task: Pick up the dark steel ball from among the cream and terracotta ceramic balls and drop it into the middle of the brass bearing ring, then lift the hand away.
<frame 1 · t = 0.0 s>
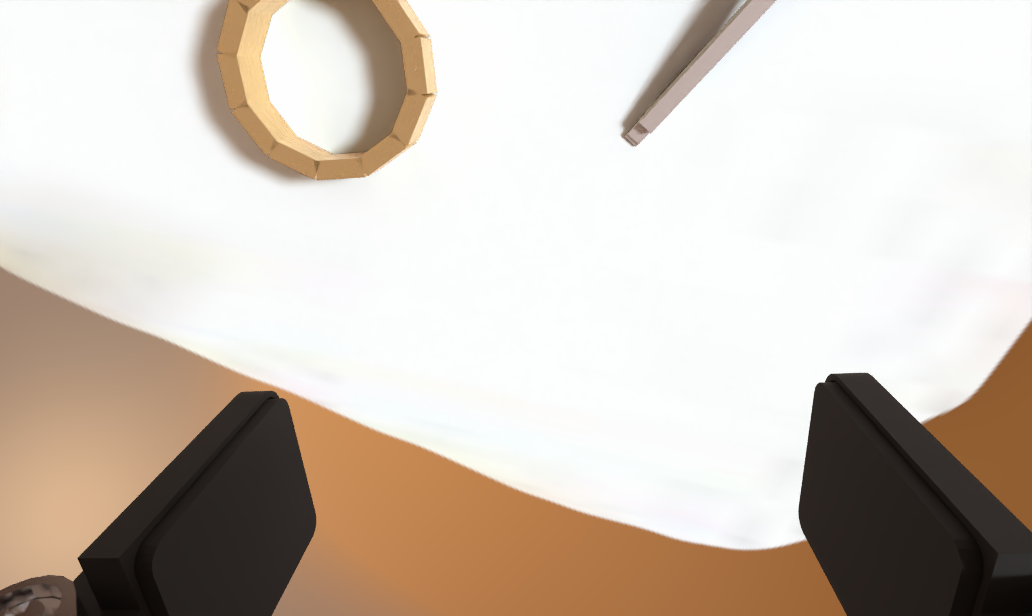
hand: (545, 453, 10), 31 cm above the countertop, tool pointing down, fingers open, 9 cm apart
caliper: (746, 5, 35), on the countertop
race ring: (339, 73, 38), on the countertop
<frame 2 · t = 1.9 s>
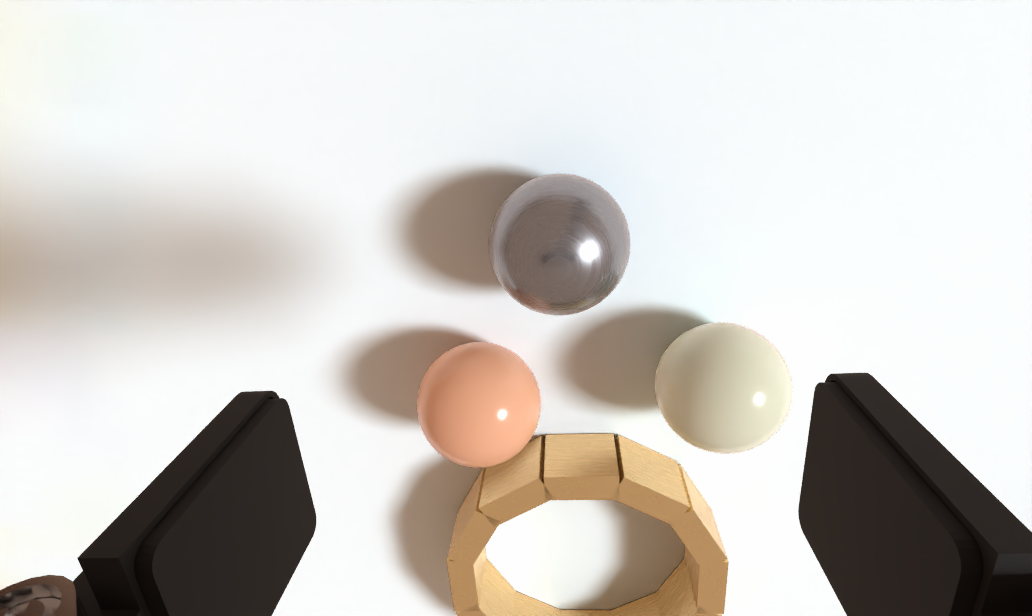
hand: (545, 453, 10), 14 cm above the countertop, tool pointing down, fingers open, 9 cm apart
steel ball: (558, 245, 21), point 2 cm above the countertop
cream ball: (721, 387, 23), point 2 cm above the countertop
terracotta ball: (479, 403, 24), point 2 cm above the countertop
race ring: (583, 537, 29), on the countertop
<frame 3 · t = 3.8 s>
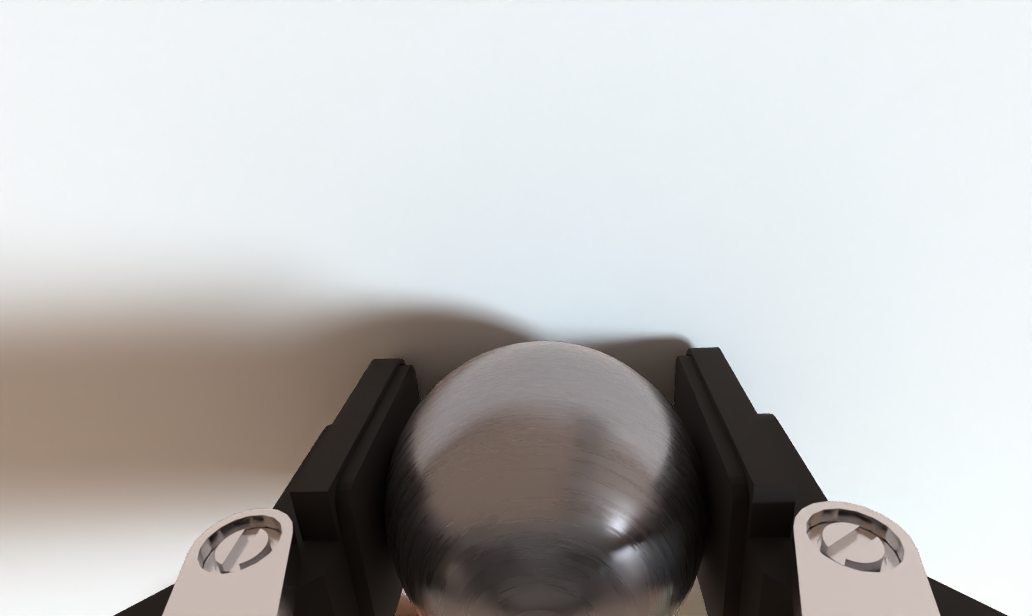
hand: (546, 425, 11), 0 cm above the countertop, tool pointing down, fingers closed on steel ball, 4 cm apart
steel ball: (544, 496, 9), point 2 cm above the countertop, touching gripper
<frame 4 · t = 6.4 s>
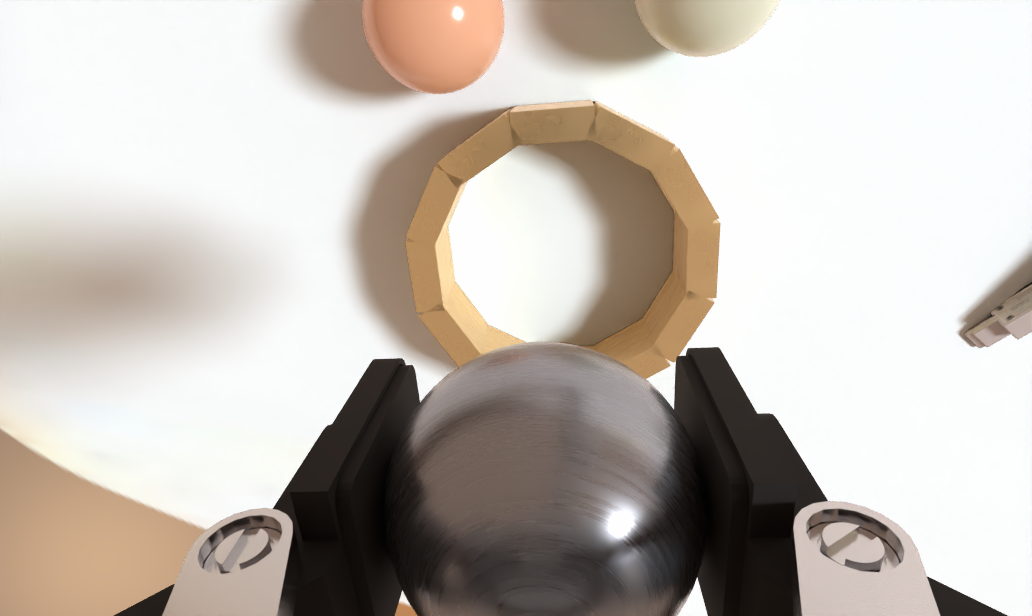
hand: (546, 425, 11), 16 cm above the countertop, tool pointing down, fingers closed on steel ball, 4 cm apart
steel ball: (543, 498, 9), point 18 cm above the countertop, touching gripper
terracotta ball: (434, 19, 21), point 2 cm above the countertop
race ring: (560, 247, 27), on the countertop
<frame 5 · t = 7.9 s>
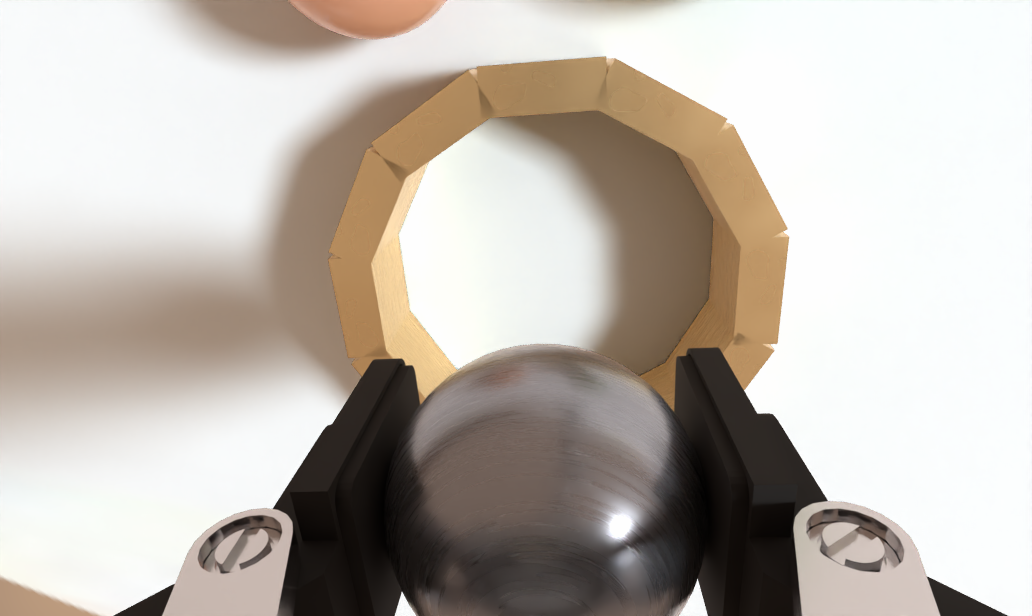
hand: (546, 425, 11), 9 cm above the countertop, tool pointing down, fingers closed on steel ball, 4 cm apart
steel ball: (544, 500, 9), point 11 cm above the countertop, touching gripper
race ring: (554, 266, 19), on the countertop
when the fingers open (4 cm above the countertop, at t = 9.2 s): steel ball drops 3 cm, point 2 cm above the countertop.
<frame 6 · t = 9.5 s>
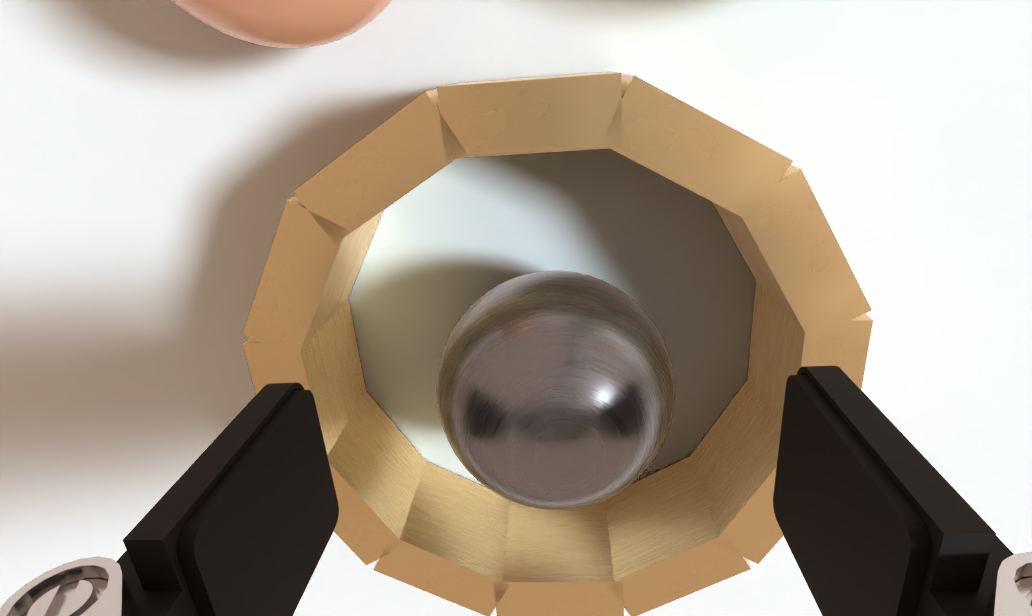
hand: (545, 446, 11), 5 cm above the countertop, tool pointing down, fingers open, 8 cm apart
steel ball: (554, 387, 13), point 2 cm above the countertop
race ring: (548, 338, 15), on the countertop
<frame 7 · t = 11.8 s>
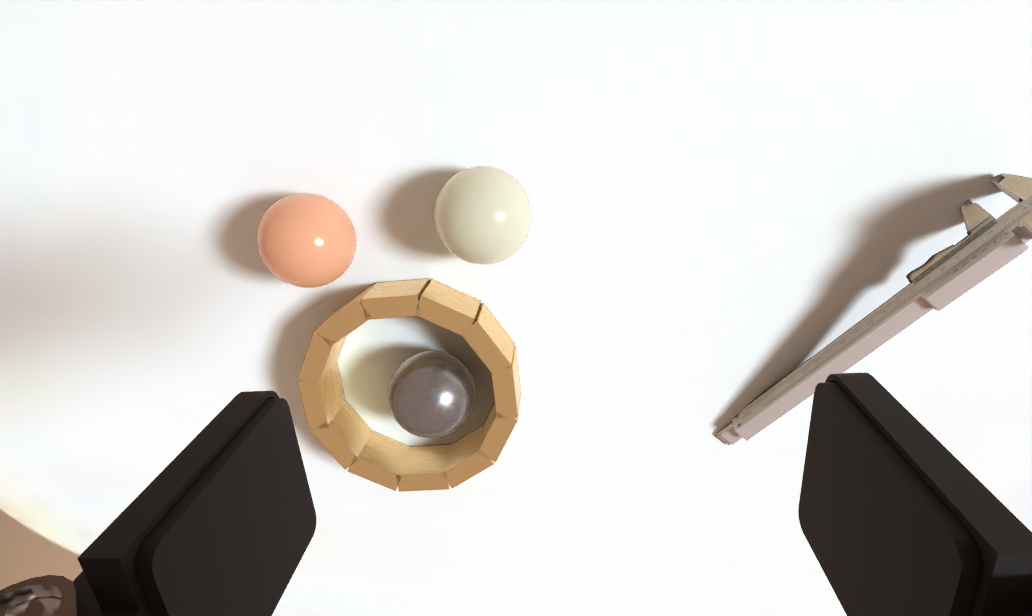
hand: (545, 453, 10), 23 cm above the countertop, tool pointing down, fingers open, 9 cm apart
steel ball: (432, 394, 34), point 2 cm above the countertop, tilted 32°
cream ball: (483, 215, 30), point 2 cm above the countertop
terracotta ball: (308, 240, 31), point 2 cm above the countertop
caliper: (846, 317, 34), on the countertop
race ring: (418, 376, 36), on the countertop
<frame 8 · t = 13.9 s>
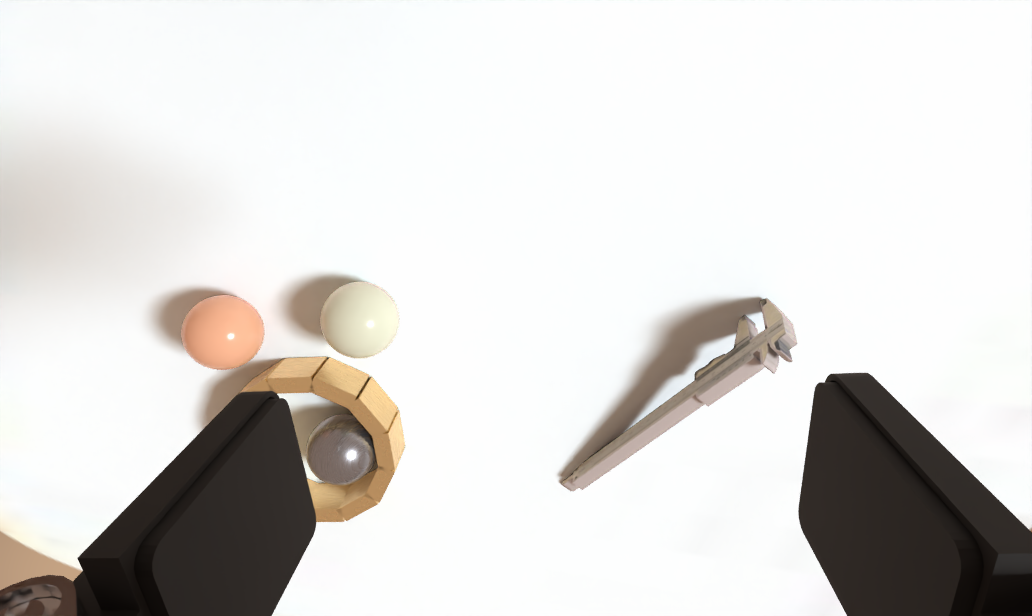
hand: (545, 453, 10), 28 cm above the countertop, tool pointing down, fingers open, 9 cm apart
steel ball: (342, 449, 42), point 2 cm above the countertop, tilted 57°
cream ball: (360, 319, 38), point 2 cm above the countertop
terracotta ball: (224, 332, 39), point 2 cm above the countertop
caliper: (659, 397, 43), on the countertop
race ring: (322, 429, 45), on the countertop
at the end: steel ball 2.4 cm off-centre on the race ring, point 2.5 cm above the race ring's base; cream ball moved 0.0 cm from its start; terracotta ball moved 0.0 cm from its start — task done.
